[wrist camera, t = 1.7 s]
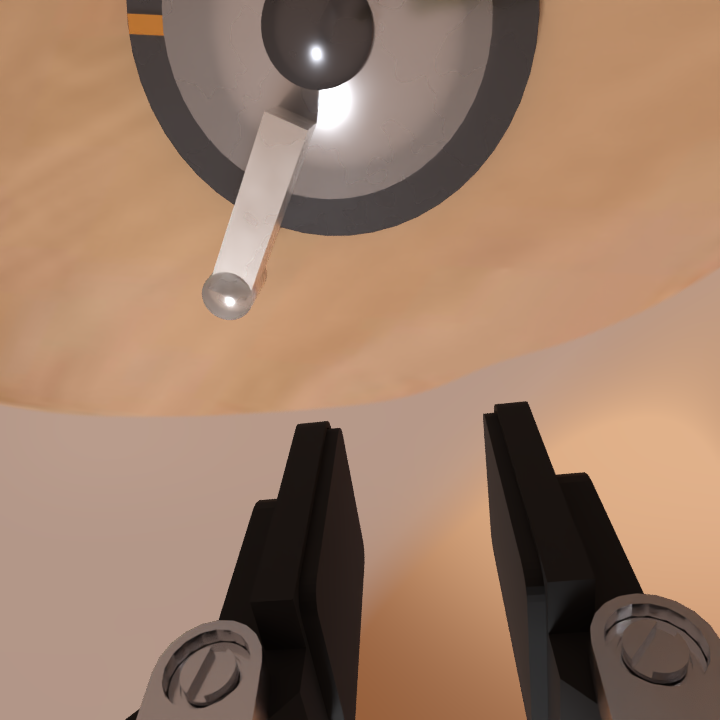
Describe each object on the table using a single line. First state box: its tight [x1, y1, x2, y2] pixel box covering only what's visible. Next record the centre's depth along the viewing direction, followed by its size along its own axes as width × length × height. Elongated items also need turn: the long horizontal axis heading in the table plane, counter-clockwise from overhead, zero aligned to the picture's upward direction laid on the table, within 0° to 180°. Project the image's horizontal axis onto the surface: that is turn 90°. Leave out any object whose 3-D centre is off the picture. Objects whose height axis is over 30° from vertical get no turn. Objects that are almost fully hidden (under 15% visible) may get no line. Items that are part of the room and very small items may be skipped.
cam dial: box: [162, 0, 493, 320], centre depth 23 cm, size 17×12×4 cm
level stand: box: [127, 0, 539, 236], centre depth 24 cm, size 16×16×1 cm
